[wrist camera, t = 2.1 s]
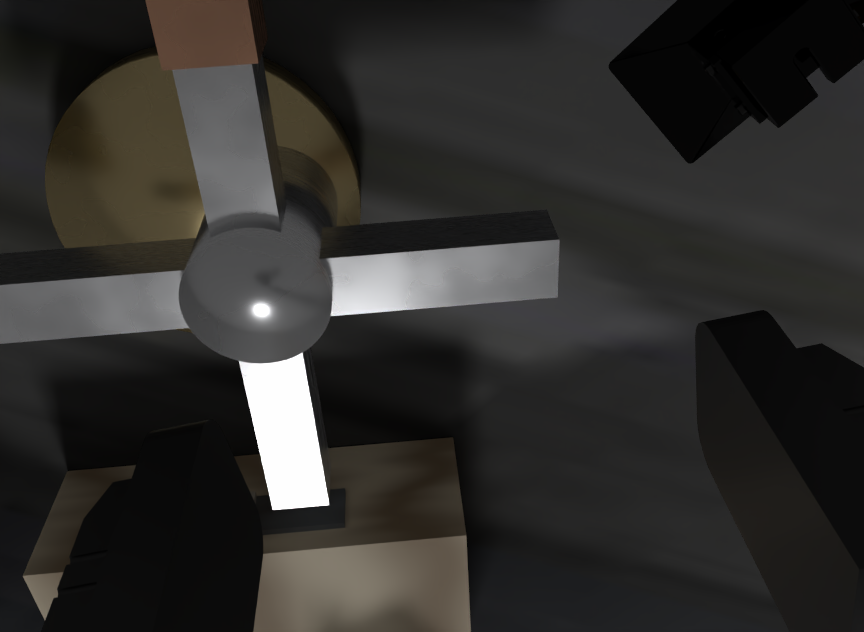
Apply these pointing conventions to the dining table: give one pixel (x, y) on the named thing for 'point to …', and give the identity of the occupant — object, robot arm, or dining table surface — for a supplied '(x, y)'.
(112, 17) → the dining table surface
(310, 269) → the capstan
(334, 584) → the cardboard box
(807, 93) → the black angular block
